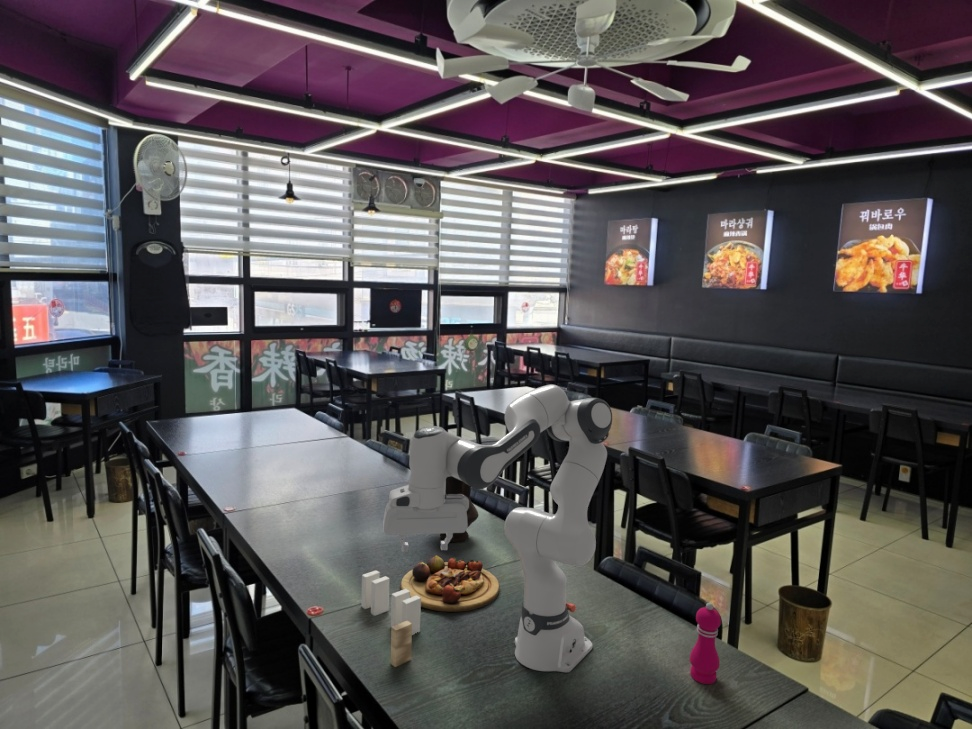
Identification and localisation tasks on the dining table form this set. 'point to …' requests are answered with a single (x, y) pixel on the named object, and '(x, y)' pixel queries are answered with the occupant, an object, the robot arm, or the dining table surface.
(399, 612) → the domino
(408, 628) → the domino
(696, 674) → the pepper mill
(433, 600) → the wooden plate with food
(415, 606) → the domino
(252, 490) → the dining table surface
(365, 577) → the domino
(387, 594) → the domino
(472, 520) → the jug
